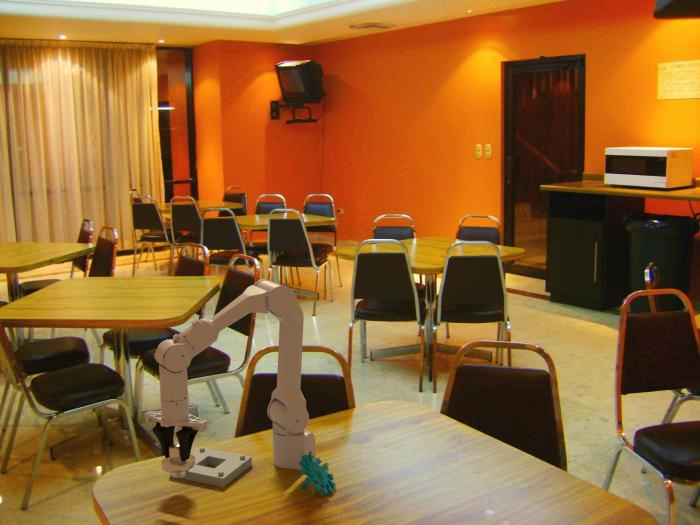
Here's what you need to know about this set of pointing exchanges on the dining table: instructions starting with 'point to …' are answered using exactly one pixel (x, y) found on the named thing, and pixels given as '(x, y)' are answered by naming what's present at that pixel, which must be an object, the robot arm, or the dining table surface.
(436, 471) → the dining table surface
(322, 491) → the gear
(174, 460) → the end cap
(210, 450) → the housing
